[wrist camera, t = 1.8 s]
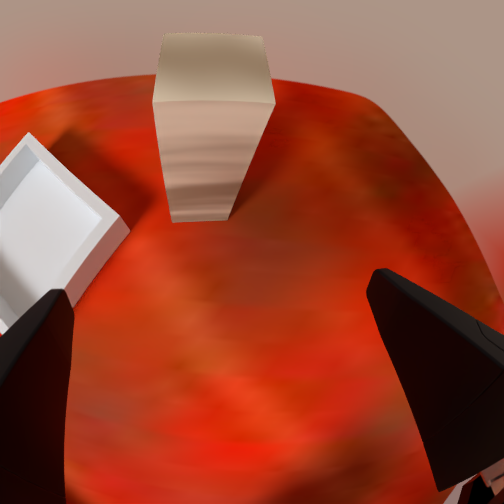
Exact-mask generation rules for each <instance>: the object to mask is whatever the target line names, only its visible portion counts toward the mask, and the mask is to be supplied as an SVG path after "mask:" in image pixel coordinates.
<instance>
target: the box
mask: <svg viewBox="0 0 504 504" xmlns="http://www.w3.org/2000/svg"><path fill="white" fill-rule="evenodd" d="M129 233H130V229H129V228H128V226H127V225H126V224H125V222H124V221H123V219H122V218H121V217H120V215H119V214H117V213H116V212H115V211H114V210H113V209H112V208H110V207H109V206H108V205H107V204H106V203H105V202H104V201H102V200H101V199H100V198H99V197H98V196H97V195H96V194H94V193H93V192H92V191H91V190H90V189H89V188H88V187H87V186H85V185H84V184H83V183H82V182H81V181H80V180H79V179H78V178H77V177H75V176H74V175H73V174H72V173H71V172H70V171H69V170H68V169H67V168H66V167H65V166H63V165H62V164H61V163H60V162H59V161H58V160H57V159H56V158H55V157H54V156H53V155H52V154H51V153H50V152H49V151H48V150H47V149H45V148H44V147H43V146H42V145H41V144H40V143H39V142H38V141H37V140H36V139H35V138H34V137H33V136H32V135H31V134H30V133H29V132H28V133H27V135H26V136H25V137H24V138H23V139H22V140H21V141H20V142H19V143H18V145H17V146H16V147H15V148H14V149H13V150H12V152H11V153H10V154H9V155H8V156H7V158H6V159H5V160H4V161H3V163H2V164H1V165H0V333H1V334H2V335H3V334H4V333H5V332H6V331H7V330H8V329H9V328H10V327H11V326H12V325H13V324H14V323H15V322H16V321H17V320H18V319H19V318H20V317H21V316H22V315H23V314H24V313H25V312H26V311H27V310H28V309H29V308H30V307H31V306H33V305H34V304H35V303H36V302H37V301H38V300H39V299H40V298H41V297H42V296H43V295H45V294H46V293H47V292H48V291H49V290H50V289H60V288H62V289H64V290H65V291H66V293H67V296H68V298H69V301H70V303H71V306H72V308H73V307H74V306H75V304H76V303H77V302H78V300H79V299H80V297H81V296H82V294H83V293H84V292H85V290H86V289H87V287H88V286H89V285H90V283H91V282H92V280H93V279H94V278H95V276H96V275H97V274H98V272H99V271H100V270H101V268H102V267H103V266H104V264H105V263H106V262H107V260H108V259H109V258H110V256H111V255H112V254H113V253H114V251H115V250H116V249H117V247H118V246H119V245H120V244H121V242H122V241H123V240H124V239H125V237H126V236H127V235H128V234H129Z"/></svg>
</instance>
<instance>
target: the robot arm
mask: <svg viewBox="0 0 504 504" xmlns="http://www.w3.org/2000/svg"><path fill="white" fill-rule="evenodd" d="M366 295H367V299H368V301H369V304H370V307H371V310H372V313H373V315H374V318H375V321H376V324H377V327H378V330H379V333H380V335H381V338H382V340H383V343H384V345H385V347H386V349H387V352H388V354H389V356H390V359H391V361H392V363H393V366H394V368H395V370H396V373H397V375H398V378H399V380H400V383H401V385H402V387H403V390H404V393H405V395H406V398H407V400H408V403H409V405H410V408H411V411H412V413H413V416H414V419H415V421H416V424H417V427H418V430H419V433H420V435H421V438H422V441H423V445H424V448H425V451H426V454H427V457H428V460H429V463H430V466H431V470H432V473H433V476H434V480H435V483H436V487H437V490H438V492H441V491H443V490H445V489H447V488H450V487H452V486H454V485H456V484H458V483H460V482H462V481H464V480H466V479H468V478H470V477H472V476H474V475H476V474H477V475H476V476H474V477H473V478H472V479H471V480H469V481H468V482H467V483H466V484H465V485H463V487H462V490H461V494H460V497H459V500H458V504H504V335H502V334H501V333H499V332H497V331H495V330H494V329H492V328H490V327H489V326H487V325H485V324H484V323H482V322H480V321H479V320H477V319H475V318H474V317H472V316H470V315H469V314H467V313H465V312H464V311H462V310H460V309H459V308H457V307H455V306H453V305H452V304H450V303H448V302H447V301H445V300H443V299H441V298H440V297H438V296H436V295H434V294H433V293H431V292H429V291H427V290H426V289H424V288H422V287H420V286H419V285H417V284H415V283H413V282H411V281H410V280H408V279H406V278H404V277H402V276H400V275H399V274H397V273H395V272H393V271H391V270H389V269H387V268H381V269H376V270H375V271H374V272H373V274H372V277H371V279H370V282H369V285H368V287H367V291H366ZM73 328H74V311H73V308H72V306H71V303H70V301H69V298H68V296H67V293H66V291H65V290H64V289H62V288H60V289H50V290H49V291H48V292H47V293H46V294H45V295H43V296H42V297H41V298H40V299H39V300H38V301H37V302H36V303H35V304H34V305H33V306H31V307H30V308H29V309H28V310H27V311H26V312H25V313H24V314H23V315H22V316H21V317H20V318H19V319H18V320H17V321H16V322H15V323H14V324H13V325H12V326H11V327H10V328H9V329H8V330H7V331H6V332H5V333H4V334H3V335H2V336H1V337H0V504H66V498H65V481H64V436H65V417H66V405H67V395H68V386H69V378H70V370H71V357H72V340H73Z"/></svg>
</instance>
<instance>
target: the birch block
mask: <svg viewBox="0 0 504 504" xmlns="http://www.w3.org/2000/svg"><path fill="white" fill-rule="evenodd" d="M275 104H276V103H275V97H274V92H273V87H272V81H271V76H270V71H269V66H268V61H267V56H266V52H265V47H264V42H263V38H262V37H260V36H250V35H238V34H221V33H171V34H164V36H163V41H162V46H161V52H160V58H159V63H158V69H157V75H156V81H155V88H154V95H153V110H154V118H155V125H156V132H157V139H158V146H159V152H160V158H161V165H162V171H163V176H164V182H165V188H166V193H167V198H168V204H169V209H170V214H171V219H172V222H193V221H219V220H228V217H229V214H230V212H231V209H232V207H233V204H234V202H235V199H236V197H237V194H238V192H239V189H240V187H241V185H242V182H243V180H244V177H245V175H246V172H247V170H248V167H249V165H250V163H251V160H252V158H253V155H254V153H255V151H256V148H257V146H258V143H259V141H260V139H261V136H262V134H263V132H264V129H265V127H266V125H267V122H268V120H269V118H270V115H271V113H272V111H273V109H274V106H275Z"/></svg>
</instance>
